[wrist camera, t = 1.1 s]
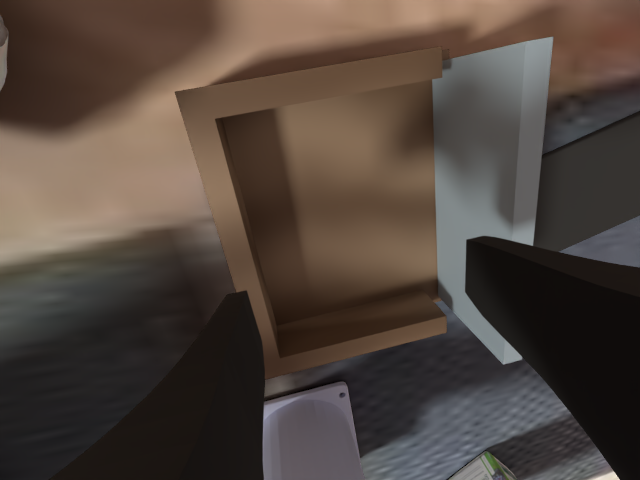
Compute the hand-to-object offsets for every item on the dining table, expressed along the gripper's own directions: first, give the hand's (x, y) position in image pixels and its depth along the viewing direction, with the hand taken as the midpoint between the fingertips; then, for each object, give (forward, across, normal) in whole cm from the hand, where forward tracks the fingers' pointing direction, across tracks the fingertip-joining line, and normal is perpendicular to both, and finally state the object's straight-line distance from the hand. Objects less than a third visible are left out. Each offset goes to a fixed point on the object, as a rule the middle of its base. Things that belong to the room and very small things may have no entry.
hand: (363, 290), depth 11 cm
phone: (+11, -21, +2) cm, 24 cm away
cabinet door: (+9, -8, +1) cm, 12 cm away
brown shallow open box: (+10, -2, +1) cm, 10 cm away
